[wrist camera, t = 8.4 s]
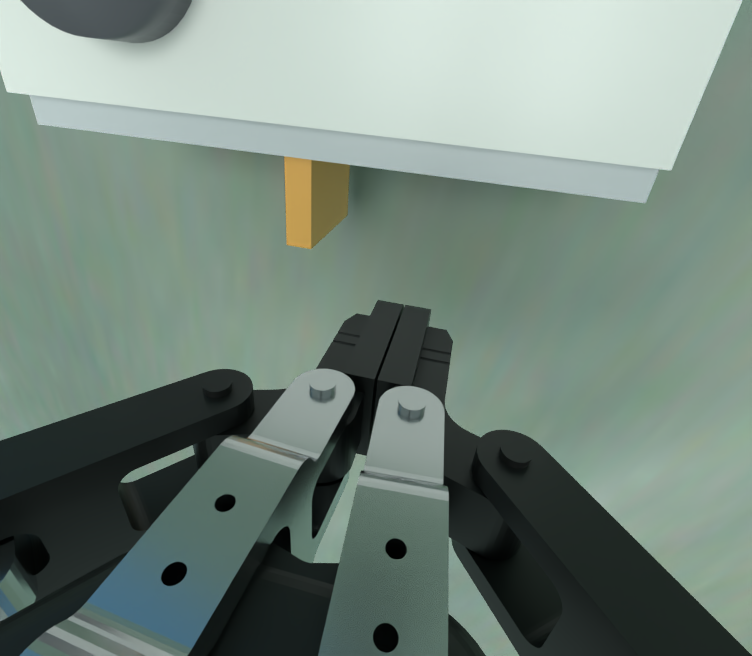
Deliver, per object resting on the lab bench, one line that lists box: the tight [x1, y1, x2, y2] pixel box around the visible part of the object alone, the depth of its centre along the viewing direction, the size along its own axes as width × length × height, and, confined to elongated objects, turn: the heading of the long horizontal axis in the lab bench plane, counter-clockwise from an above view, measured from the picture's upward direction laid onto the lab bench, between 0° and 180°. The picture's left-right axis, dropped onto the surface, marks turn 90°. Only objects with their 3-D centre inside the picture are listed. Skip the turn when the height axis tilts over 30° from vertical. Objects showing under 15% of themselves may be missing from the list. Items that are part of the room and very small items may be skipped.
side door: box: [284, 156, 350, 249], centre depth 22 cm, size 5×10×7 cm, turn 85°
